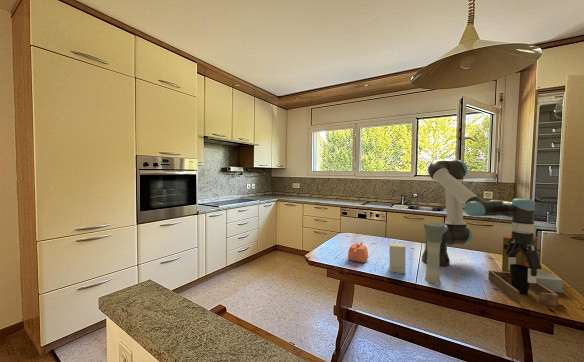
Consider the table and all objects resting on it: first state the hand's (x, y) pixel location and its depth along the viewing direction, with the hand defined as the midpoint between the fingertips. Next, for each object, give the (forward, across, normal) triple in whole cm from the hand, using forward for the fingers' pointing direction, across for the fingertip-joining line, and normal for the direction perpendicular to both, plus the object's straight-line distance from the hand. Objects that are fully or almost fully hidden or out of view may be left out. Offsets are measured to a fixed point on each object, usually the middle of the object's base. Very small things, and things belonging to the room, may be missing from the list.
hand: (521, 276), depth 113 cm
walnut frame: (+8, 0, 0) cm, 8 cm away
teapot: (+7, +24, +74) cm, 78 cm away
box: (+8, +26, -14) cm, 31 cm away
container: (+8, +4, +37) cm, 38 cm away
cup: (+8, 0, 0) cm, 8 cm away
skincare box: (+7, +12, +53) cm, 54 cm away
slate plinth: (+8, +10, -13) cm, 18 cm away
